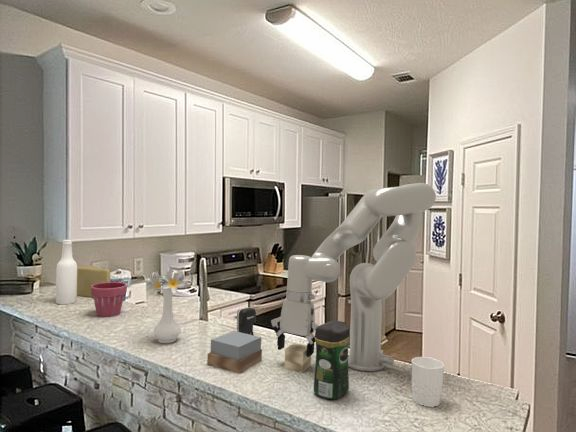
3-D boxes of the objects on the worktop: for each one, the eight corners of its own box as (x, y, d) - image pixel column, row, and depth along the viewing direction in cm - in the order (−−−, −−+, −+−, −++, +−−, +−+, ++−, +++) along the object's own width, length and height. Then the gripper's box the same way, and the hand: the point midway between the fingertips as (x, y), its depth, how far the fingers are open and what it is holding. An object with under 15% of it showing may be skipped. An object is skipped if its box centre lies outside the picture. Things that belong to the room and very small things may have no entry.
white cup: (435, 394, 109) (436, 357, 109) (447, 408, 101) (449, 368, 101) (406, 393, 109) (407, 356, 108) (416, 408, 101) (417, 368, 100)
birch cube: (310, 366, 126) (311, 346, 126) (302, 372, 121) (303, 352, 121) (293, 362, 129) (293, 343, 129) (284, 368, 124) (285, 348, 123)
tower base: (261, 361, 129) (261, 349, 129) (240, 375, 119) (240, 361, 119) (230, 354, 135) (230, 342, 135) (207, 366, 124) (207, 353, 124)
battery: (242, 343, 145) (243, 311, 145) (235, 340, 147) (236, 309, 147) (257, 338, 150) (257, 307, 150) (249, 336, 153) (250, 306, 152)
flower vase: (161, 331, 156) (162, 265, 155) (197, 340, 146) (198, 270, 146) (132, 340, 145) (133, 269, 144) (169, 351, 135) (170, 275, 135)
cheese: (117, 298, 207) (118, 269, 207) (99, 302, 199) (100, 271, 199) (92, 292, 219) (92, 264, 219) (74, 295, 211) (75, 266, 211)
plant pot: (114, 319, 169) (114, 289, 169) (83, 317, 172) (83, 287, 171) (132, 311, 184) (133, 282, 183) (103, 309, 186) (104, 281, 185)
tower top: (260, 349, 129) (261, 337, 129) (238, 360, 119) (239, 347, 119) (233, 342, 134) (233, 330, 134) (210, 352, 125) (210, 339, 125)
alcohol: (51, 303, 193) (52, 240, 192) (67, 299, 201) (68, 238, 200) (64, 305, 190) (65, 241, 189) (80, 302, 198) (81, 240, 197)
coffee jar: (327, 382, 114) (329, 316, 114) (352, 390, 110) (354, 321, 109) (308, 394, 107) (310, 323, 106) (334, 403, 102) (336, 329, 102)
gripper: (329, 298, 124) (326, 355, 124) (279, 290, 132) (276, 343, 132) (320, 303, 117) (316, 362, 117) (267, 293, 125) (264, 349, 125)
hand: (294, 352), depth 125 cm, fingers open, 9 cm apart
